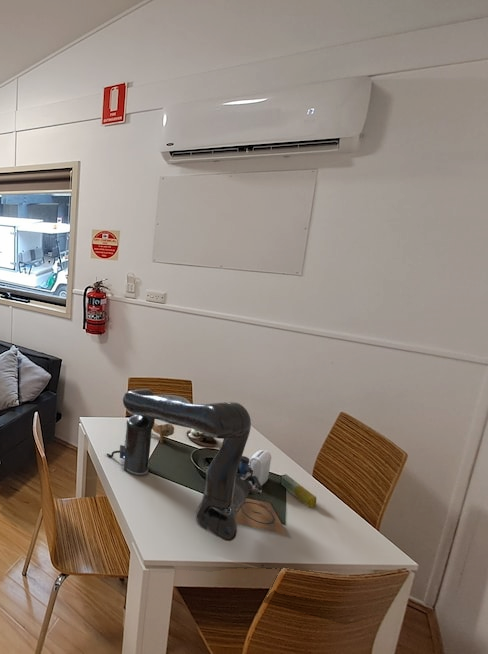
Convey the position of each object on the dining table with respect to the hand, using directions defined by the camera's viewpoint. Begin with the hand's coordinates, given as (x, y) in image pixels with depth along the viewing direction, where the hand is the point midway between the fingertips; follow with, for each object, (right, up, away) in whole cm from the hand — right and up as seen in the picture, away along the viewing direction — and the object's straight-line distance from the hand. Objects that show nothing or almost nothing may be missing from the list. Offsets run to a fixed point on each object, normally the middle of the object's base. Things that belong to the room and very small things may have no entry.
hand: (244, 467), depth 131 cm
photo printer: (+13, -11, +11) cm, 20 cm away
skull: (+6, -6, +38) cm, 39 cm away
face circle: (+1, -13, -4) cm, 14 cm away
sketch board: (-2, -14, -3) cm, 14 cm away
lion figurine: (-13, -6, +39) cm, 42 cm away
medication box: (+22, -13, +4) cm, 26 cm away
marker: (-2, -7, -1) cm, 7 cm away
